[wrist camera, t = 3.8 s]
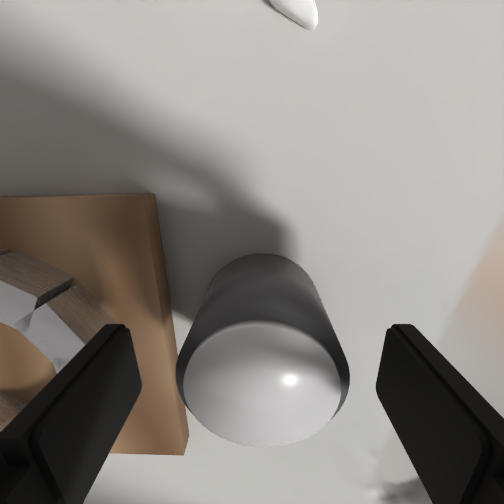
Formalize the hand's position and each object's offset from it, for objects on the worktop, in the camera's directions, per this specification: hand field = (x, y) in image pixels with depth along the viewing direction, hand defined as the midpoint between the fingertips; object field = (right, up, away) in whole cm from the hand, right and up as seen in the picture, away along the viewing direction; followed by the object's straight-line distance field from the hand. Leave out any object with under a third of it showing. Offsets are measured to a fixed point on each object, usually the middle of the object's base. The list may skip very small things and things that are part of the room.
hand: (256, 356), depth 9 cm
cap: (0, +1, +4) cm, 4 cm away
